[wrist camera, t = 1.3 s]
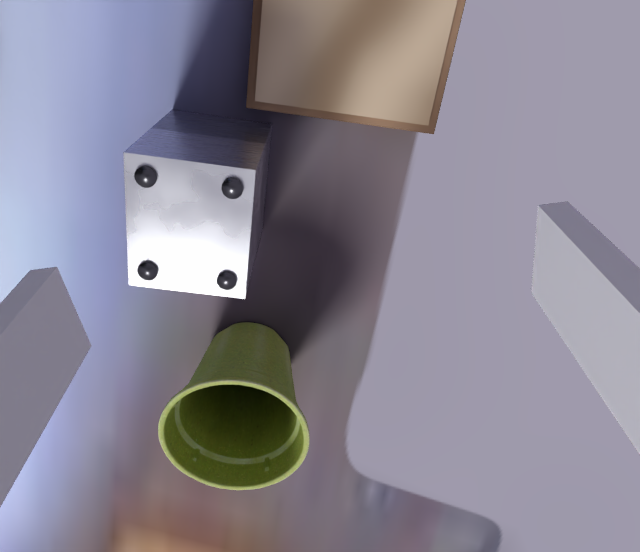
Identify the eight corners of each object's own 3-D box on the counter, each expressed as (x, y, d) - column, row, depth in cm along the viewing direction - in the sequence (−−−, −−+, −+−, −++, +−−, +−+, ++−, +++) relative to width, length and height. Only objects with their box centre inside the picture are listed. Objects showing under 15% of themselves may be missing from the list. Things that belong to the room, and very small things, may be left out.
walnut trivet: (248, 103, 32) (245, 108, 31) (264, -124, 27) (261, -129, 25) (430, 129, 33) (434, 135, 31) (481, -88, 27) (488, -91, 26)
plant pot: (321, 311, 39) (320, 392, 32) (302, 408, 44) (298, 498, 36) (192, 292, 38) (159, 370, 31) (186, 392, 43) (156, 482, 35)
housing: (172, 216, 36) (128, 286, 28) (172, 109, 32) (122, 153, 24) (262, 228, 36) (244, 300, 28) (272, 123, 33) (255, 171, 25)
